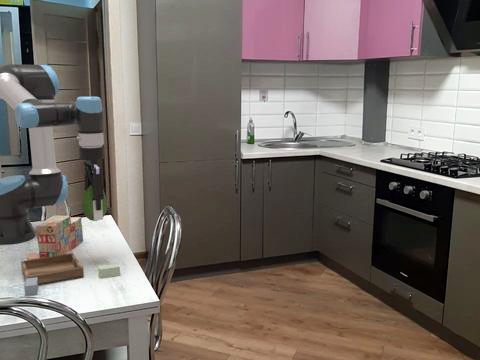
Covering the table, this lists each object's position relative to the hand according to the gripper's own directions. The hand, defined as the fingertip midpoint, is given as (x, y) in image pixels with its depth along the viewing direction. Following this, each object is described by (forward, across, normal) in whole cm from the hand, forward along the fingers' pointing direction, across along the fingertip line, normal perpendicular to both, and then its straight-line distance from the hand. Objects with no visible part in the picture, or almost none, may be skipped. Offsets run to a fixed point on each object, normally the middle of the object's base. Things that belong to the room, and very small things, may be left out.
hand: (95, 216), depth 159 cm
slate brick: (+15, +16, -22) cm, 31 cm away
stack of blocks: (+16, -18, -8) cm, 25 cm away
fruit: (+1, 0, 0) cm, 1 cm away
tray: (+15, +5, -15) cm, 22 cm away
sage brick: (+15, +15, 0) cm, 21 cm away
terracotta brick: (+16, -8, -19) cm, 26 cm away
